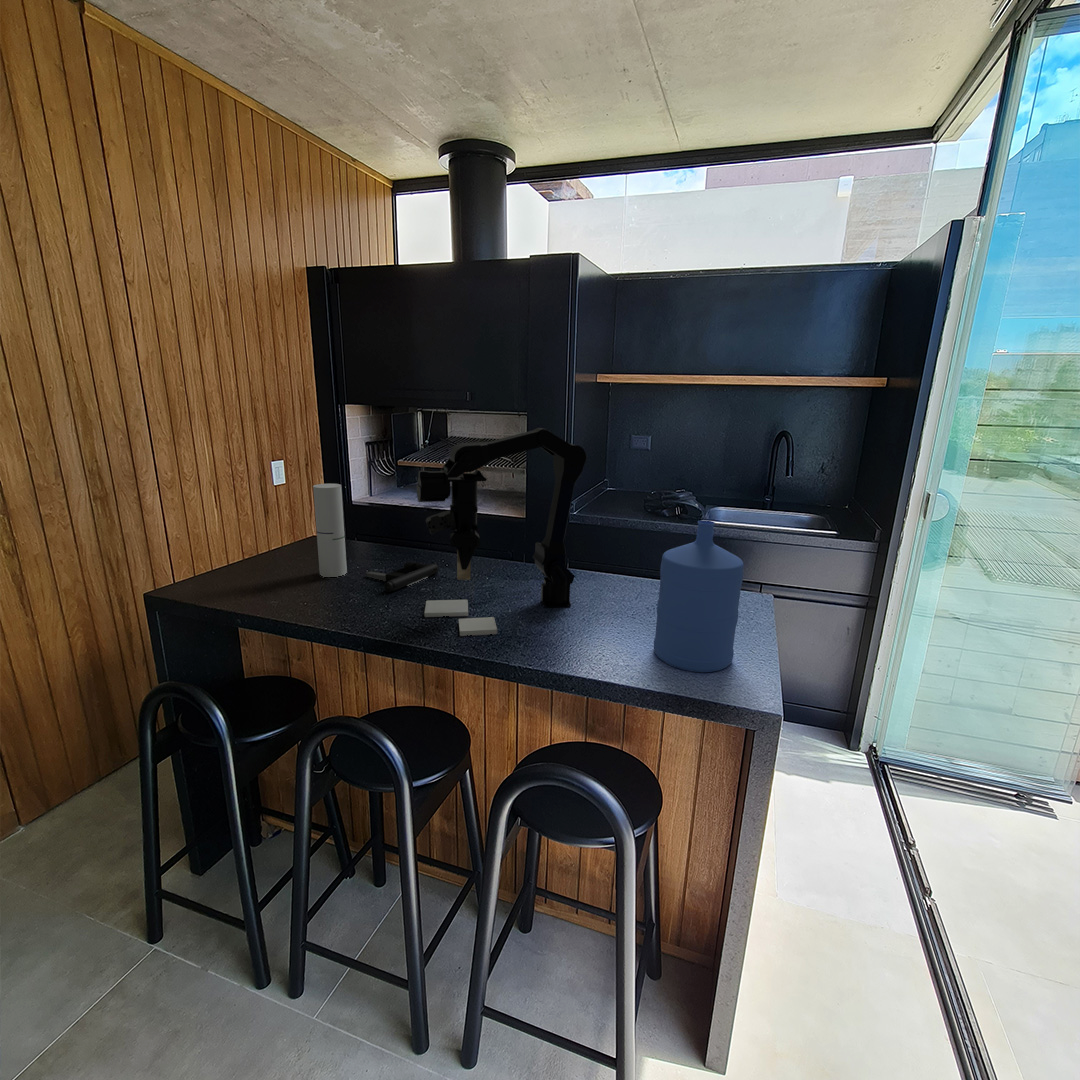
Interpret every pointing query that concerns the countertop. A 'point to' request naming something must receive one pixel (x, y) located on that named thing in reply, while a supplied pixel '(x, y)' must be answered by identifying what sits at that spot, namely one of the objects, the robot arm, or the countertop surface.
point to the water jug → (698, 604)
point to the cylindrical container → (330, 529)
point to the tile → (477, 626)
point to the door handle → (405, 575)
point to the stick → (463, 573)
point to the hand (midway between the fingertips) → (464, 567)
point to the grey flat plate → (446, 608)
